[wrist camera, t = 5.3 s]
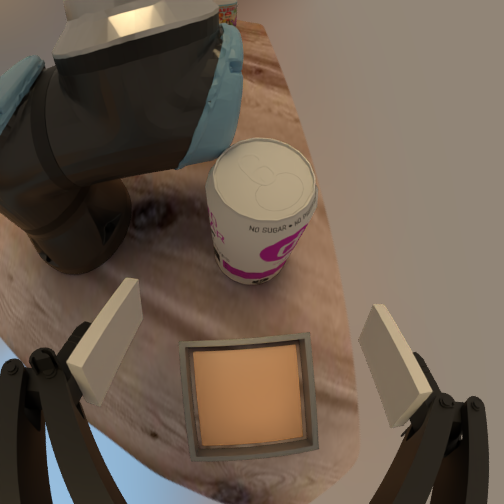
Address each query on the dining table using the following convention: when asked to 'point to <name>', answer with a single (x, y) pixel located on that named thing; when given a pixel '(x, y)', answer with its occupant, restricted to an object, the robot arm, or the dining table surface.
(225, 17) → the milk bottle
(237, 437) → the tray
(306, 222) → the supplement can
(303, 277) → the dining table surface
